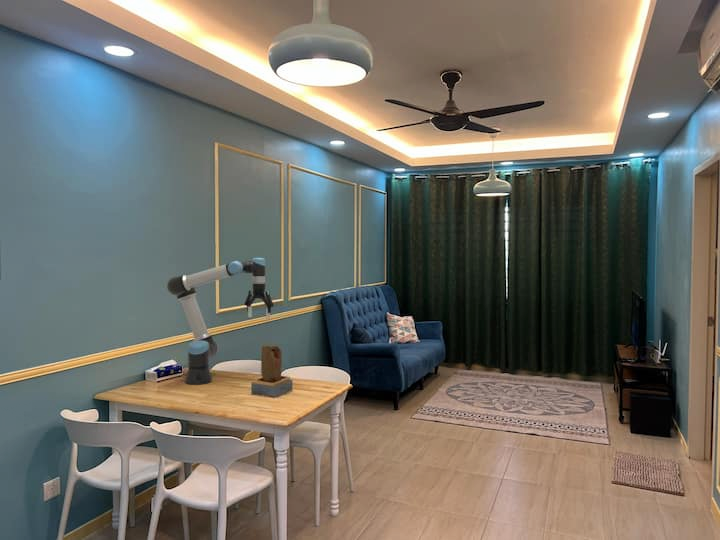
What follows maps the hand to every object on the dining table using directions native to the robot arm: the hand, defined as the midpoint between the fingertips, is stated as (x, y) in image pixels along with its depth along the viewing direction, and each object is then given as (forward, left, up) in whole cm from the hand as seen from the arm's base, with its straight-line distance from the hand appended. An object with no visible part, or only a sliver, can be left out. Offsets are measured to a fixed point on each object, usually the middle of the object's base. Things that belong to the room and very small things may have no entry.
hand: (258, 317), depth 325 cm
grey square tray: (+27, -24, -37) cm, 51 cm away
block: (+27, -24, -31) cm, 47 cm away
